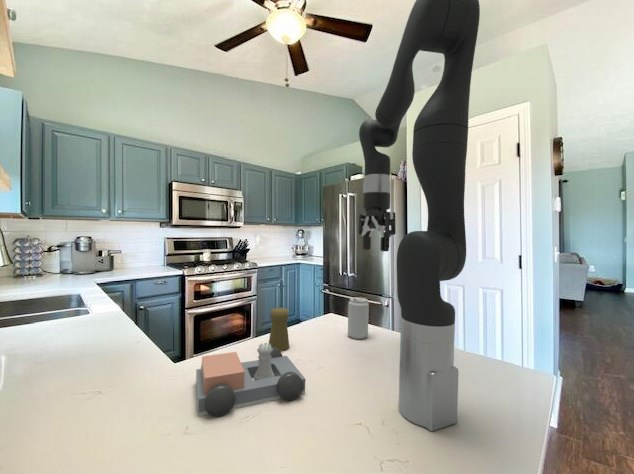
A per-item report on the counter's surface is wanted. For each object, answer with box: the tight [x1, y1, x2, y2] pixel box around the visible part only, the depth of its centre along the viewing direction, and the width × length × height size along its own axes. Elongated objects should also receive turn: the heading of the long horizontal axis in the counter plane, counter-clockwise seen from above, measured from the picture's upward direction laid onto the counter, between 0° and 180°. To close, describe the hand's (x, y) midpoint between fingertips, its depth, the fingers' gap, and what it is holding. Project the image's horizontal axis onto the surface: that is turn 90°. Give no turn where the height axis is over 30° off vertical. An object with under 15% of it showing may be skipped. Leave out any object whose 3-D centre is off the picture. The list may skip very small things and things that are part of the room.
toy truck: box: [195, 347, 306, 418], centre depth 61 cm, size 15×20×6 cm
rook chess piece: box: [254, 342, 275, 380], centre depth 62 cm, size 4×4×8 cm
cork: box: [268, 307, 290, 353], centre depth 83 cm, size 6×6×11 cm
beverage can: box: [347, 296, 370, 340], centre depth 94 cm, size 6×6×12 cm
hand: (375, 250), depth 82 cm, fingers open, 8 cm apart
